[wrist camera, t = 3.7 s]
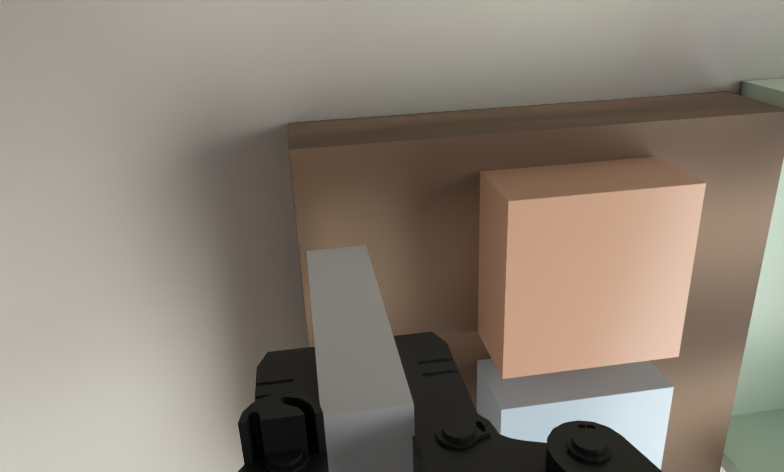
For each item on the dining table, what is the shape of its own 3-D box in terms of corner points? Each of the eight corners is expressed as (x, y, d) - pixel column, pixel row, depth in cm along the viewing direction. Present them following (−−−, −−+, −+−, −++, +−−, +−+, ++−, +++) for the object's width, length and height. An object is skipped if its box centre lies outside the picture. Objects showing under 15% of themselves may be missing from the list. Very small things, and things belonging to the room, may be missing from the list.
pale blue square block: (477, 360, 20) (501, 409, 18) (631, 341, 20) (674, 386, 18) (475, 487, 22) (496, 545, 20) (616, 466, 22) (652, 520, 20)
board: (287, 123, 19) (288, 149, 16) (726, 91, 21) (793, 110, 18) (322, 467, 24) (328, 531, 22) (673, 418, 26) (719, 472, 23)
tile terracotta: (480, 171, 17) (508, 201, 15) (654, 156, 18) (706, 183, 16) (477, 332, 19) (502, 379, 17) (635, 313, 20) (678, 357, 18)
